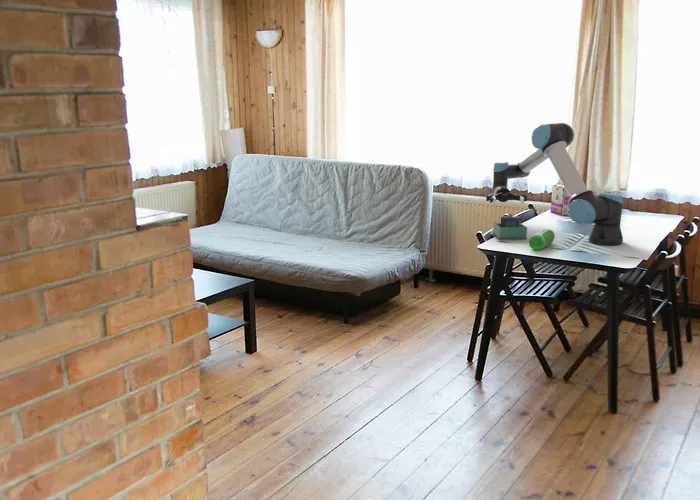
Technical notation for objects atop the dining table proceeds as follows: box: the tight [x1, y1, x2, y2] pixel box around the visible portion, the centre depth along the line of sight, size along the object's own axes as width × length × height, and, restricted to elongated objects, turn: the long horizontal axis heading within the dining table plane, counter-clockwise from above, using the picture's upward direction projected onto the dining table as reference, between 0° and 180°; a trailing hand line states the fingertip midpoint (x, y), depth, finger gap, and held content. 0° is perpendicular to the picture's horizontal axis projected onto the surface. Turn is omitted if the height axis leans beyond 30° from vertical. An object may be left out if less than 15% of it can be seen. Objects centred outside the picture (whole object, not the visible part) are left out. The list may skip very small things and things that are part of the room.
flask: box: [500, 212, 521, 228], centre depth 322 cm, size 9×3×11 cm, turn 87°
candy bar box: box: [550, 183, 570, 216], centre depth 377 cm, size 11×5×16 cm, turn 17°
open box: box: [492, 222, 528, 241], centre depth 323 cm, size 10×13×6 cm
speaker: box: [528, 228, 555, 251], centre depth 304 cm, size 18×7×8 cm, turn 146°
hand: (509, 201), depth 324 cm, fingers open, 13 cm apart
